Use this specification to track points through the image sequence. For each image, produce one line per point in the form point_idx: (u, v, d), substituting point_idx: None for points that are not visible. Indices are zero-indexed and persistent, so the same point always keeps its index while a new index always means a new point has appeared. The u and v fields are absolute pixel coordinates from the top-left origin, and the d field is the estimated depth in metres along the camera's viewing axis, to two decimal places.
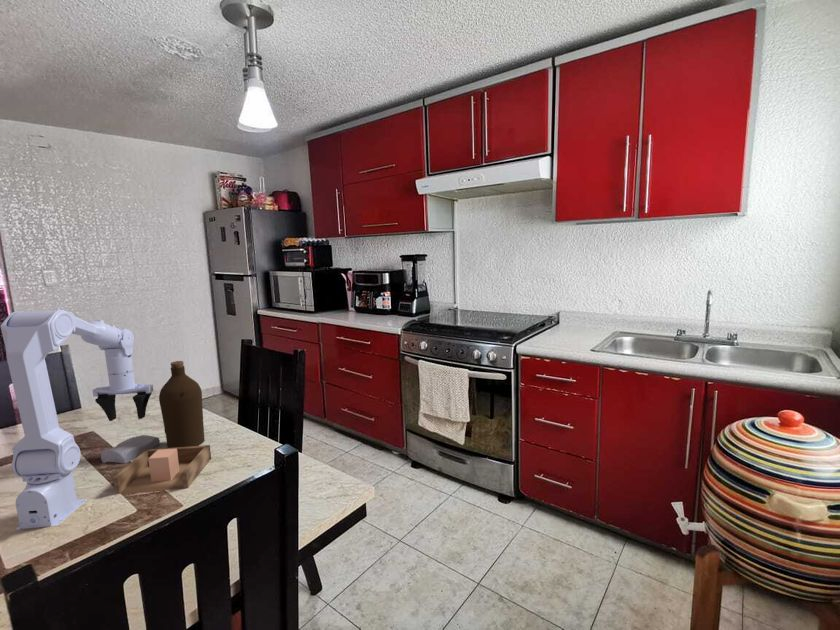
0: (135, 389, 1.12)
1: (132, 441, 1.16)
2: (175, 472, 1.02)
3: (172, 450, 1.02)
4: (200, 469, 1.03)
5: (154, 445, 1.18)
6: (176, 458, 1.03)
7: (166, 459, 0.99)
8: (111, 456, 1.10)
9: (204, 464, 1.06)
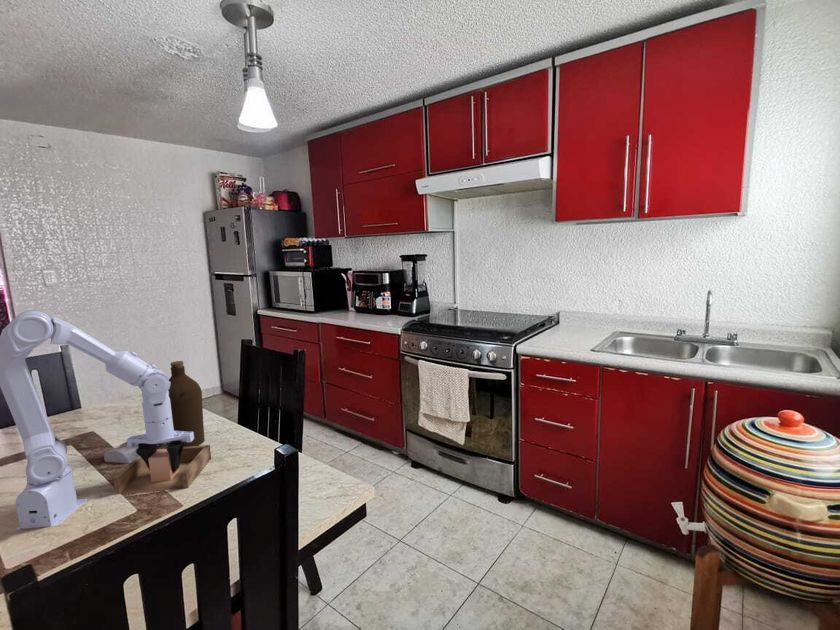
0: (175, 438, 0.99)
1: None
2: (175, 472, 1.02)
3: None
4: (200, 469, 1.03)
5: (157, 445, 1.18)
6: None
7: (166, 459, 0.99)
8: (114, 456, 1.10)
9: (204, 464, 1.06)
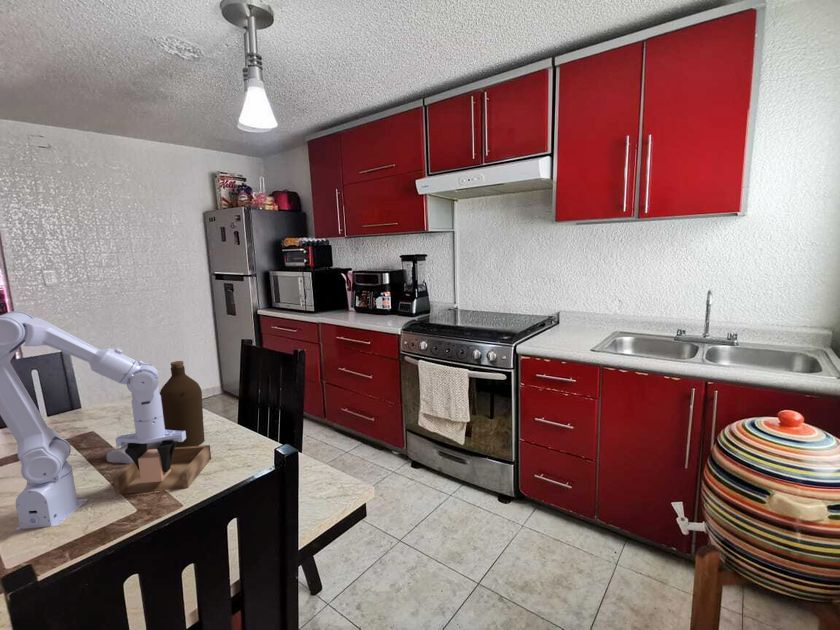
0: (166, 438, 0.95)
1: None
2: (166, 473, 0.98)
3: None
4: (200, 469, 1.03)
5: None
6: None
7: (157, 460, 0.95)
8: (116, 456, 1.10)
9: (204, 464, 1.06)
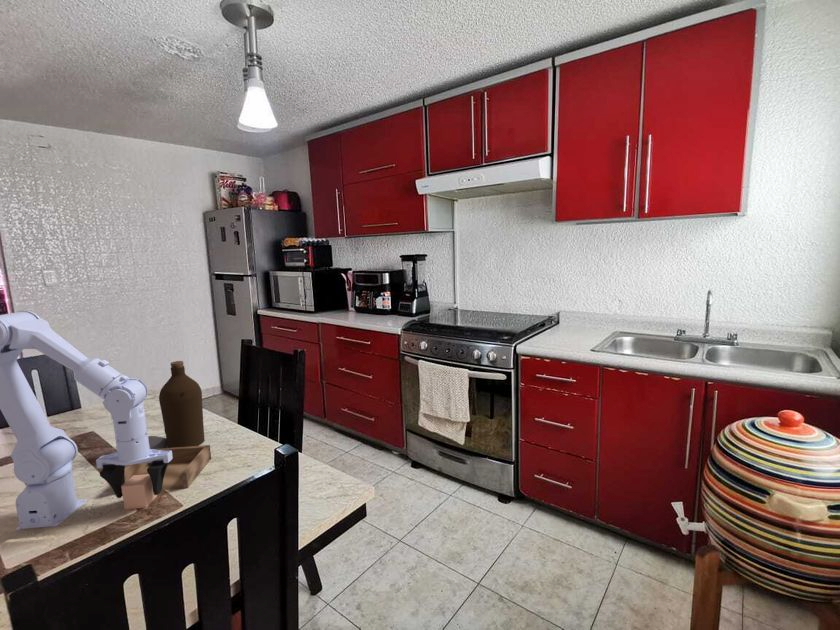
0: (150, 459, 0.88)
1: None
2: (152, 500, 0.92)
3: (149, 476, 0.92)
4: (200, 469, 1.03)
5: (163, 445, 1.17)
6: None
7: (142, 487, 0.89)
8: None
9: (204, 464, 1.06)
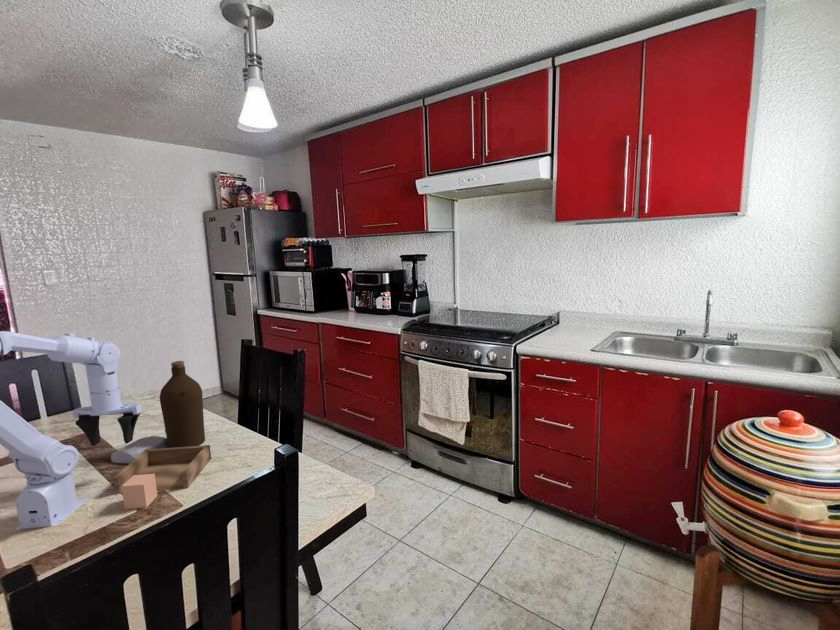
0: (121, 410, 0.99)
1: (142, 442, 1.15)
2: (152, 500, 0.92)
3: (149, 476, 0.92)
4: (200, 469, 1.03)
5: (164, 445, 1.17)
6: (154, 485, 0.92)
7: (142, 487, 0.89)
8: (121, 457, 1.09)
9: (204, 464, 1.06)
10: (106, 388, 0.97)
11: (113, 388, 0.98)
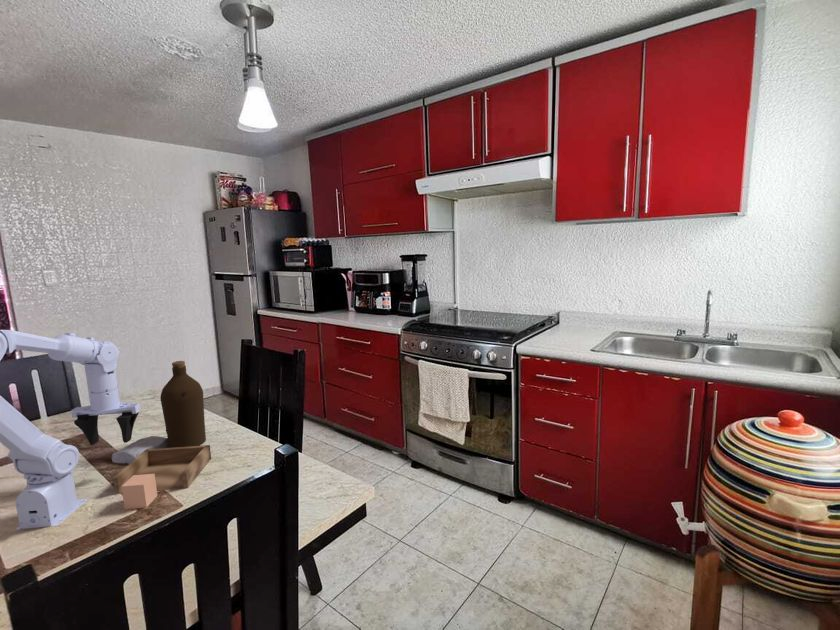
0: (119, 409, 0.99)
1: (142, 442, 1.15)
2: (152, 500, 0.92)
3: (149, 476, 0.92)
4: (200, 469, 1.03)
5: (165, 446, 1.17)
6: (154, 484, 0.92)
7: (142, 487, 0.89)
8: (122, 457, 1.09)
9: (204, 464, 1.06)
10: (106, 387, 0.98)
11: (112, 387, 0.99)
